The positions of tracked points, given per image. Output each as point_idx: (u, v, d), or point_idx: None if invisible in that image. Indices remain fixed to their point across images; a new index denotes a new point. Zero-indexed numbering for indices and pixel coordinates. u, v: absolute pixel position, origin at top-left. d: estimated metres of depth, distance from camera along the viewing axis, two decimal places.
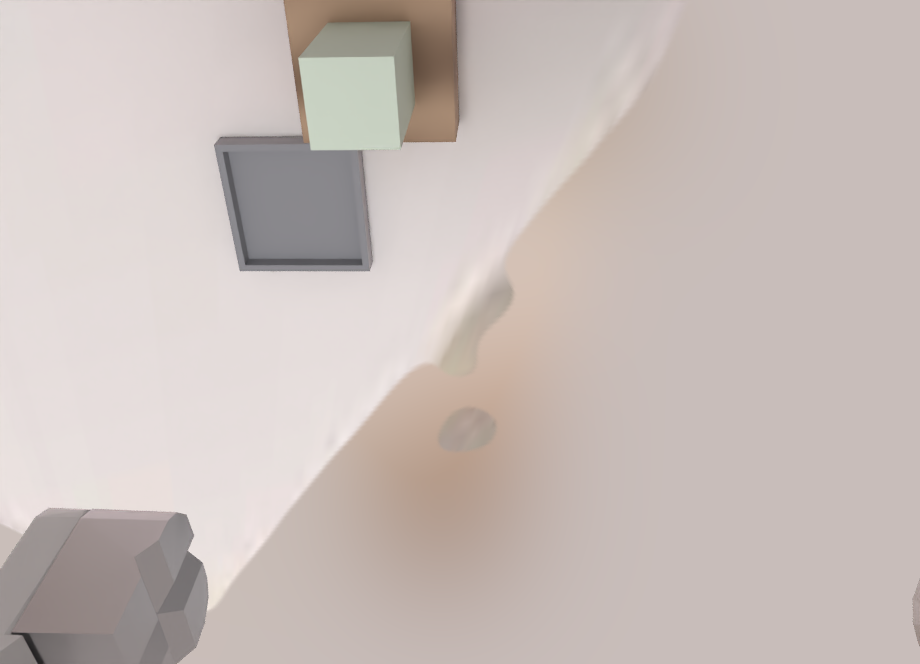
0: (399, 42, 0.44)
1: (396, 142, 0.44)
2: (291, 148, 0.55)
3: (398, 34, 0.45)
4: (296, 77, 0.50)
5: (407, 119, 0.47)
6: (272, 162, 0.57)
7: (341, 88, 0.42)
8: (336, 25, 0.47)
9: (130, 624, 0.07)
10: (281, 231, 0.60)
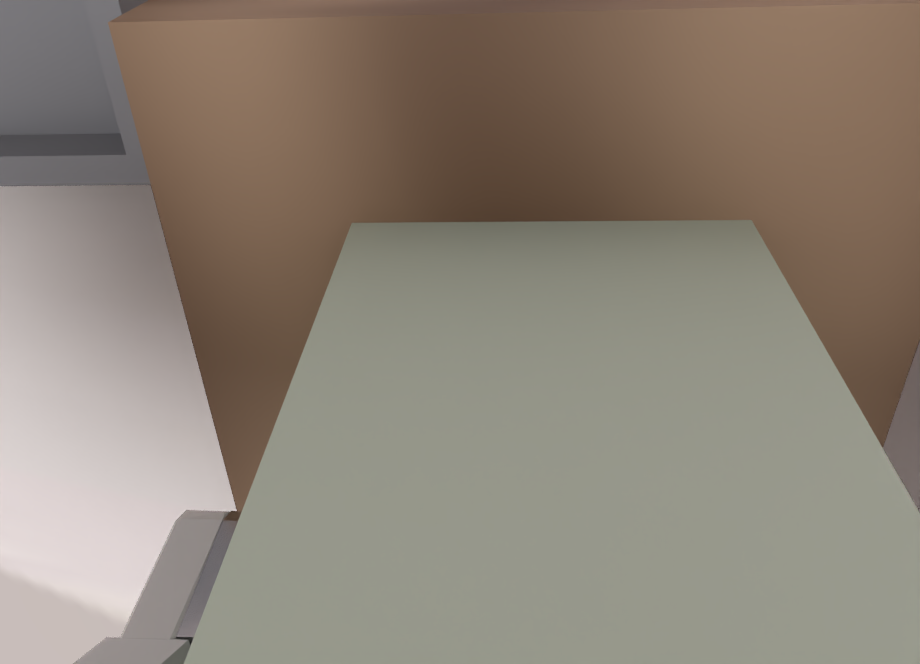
0: None
1: None
2: None
3: None
4: (485, 24, 0.09)
5: None
6: None
7: None
8: None
9: None
10: None
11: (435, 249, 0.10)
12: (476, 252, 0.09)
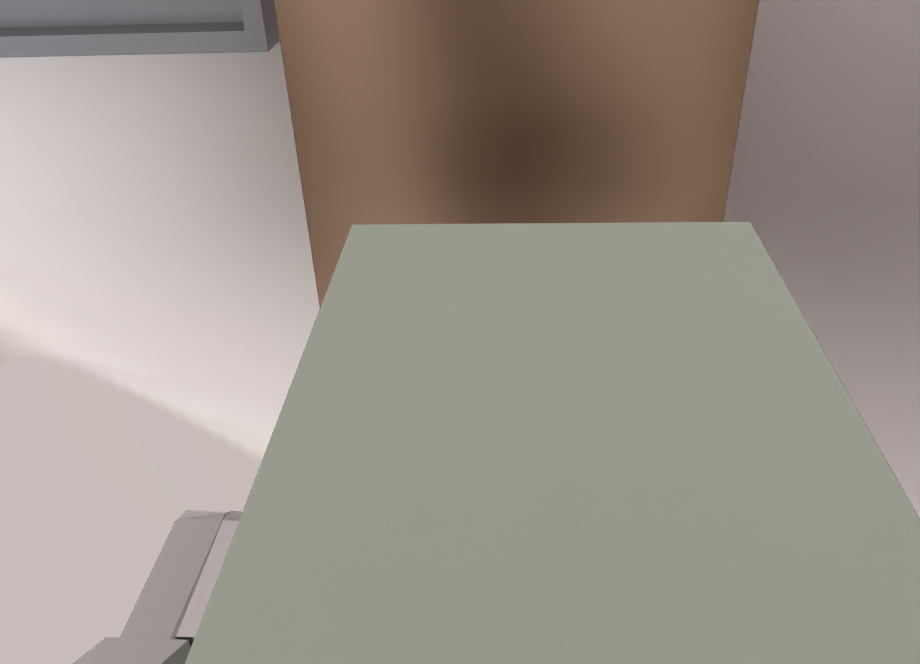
0: None
1: None
2: None
3: None
4: None
5: None
6: None
7: None
8: None
9: None
10: None
11: (435, 251, 0.10)
12: (477, 253, 0.09)
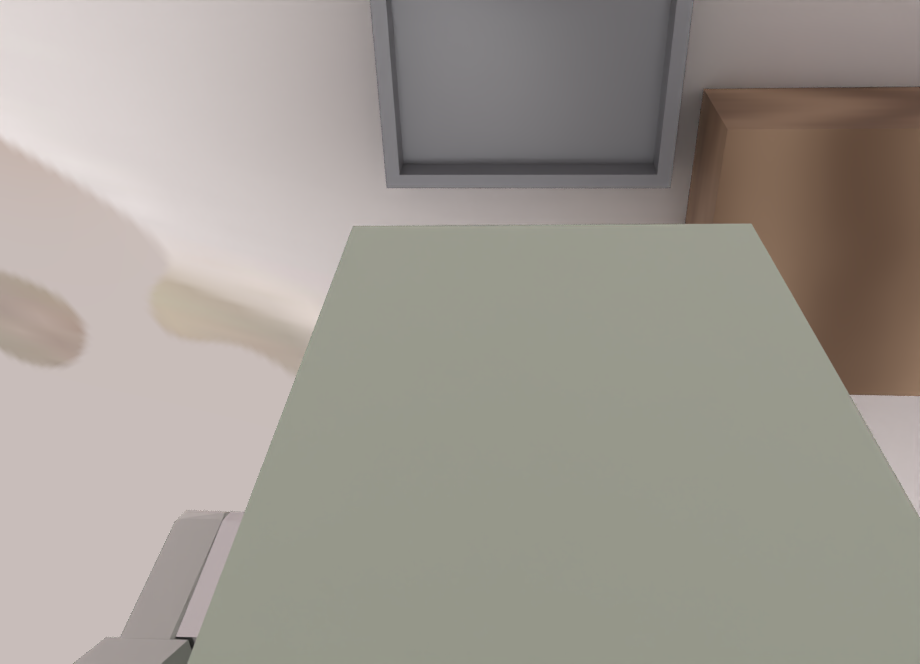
0: None
1: None
2: (677, 54, 0.25)
3: None
4: (872, 132, 0.24)
5: None
6: None
7: None
8: None
9: None
10: None
11: (436, 252, 0.10)
12: (477, 255, 0.09)
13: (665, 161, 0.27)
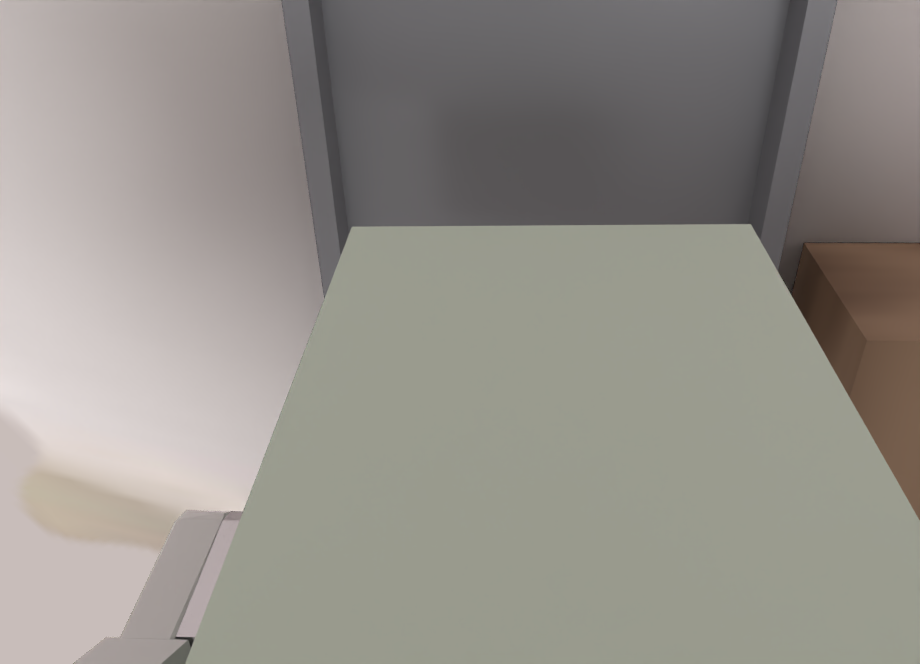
0: None
1: None
2: (777, 208, 0.16)
3: None
4: None
5: None
6: (710, 104, 0.16)
7: None
8: None
9: None
10: (443, 98, 0.17)
11: (435, 253, 0.10)
12: (476, 255, 0.09)
13: None
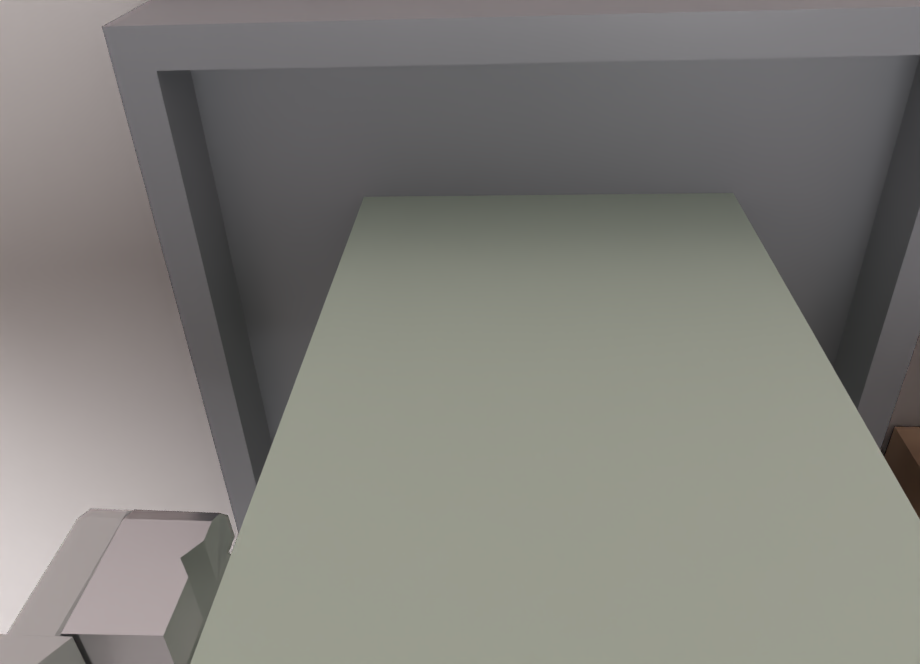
0: None
1: None
2: (872, 410, 0.11)
3: None
4: None
5: None
6: (774, 262, 0.11)
7: None
8: None
9: (179, 625, 0.07)
10: None
11: (442, 219, 0.10)
12: (480, 221, 0.10)
13: None
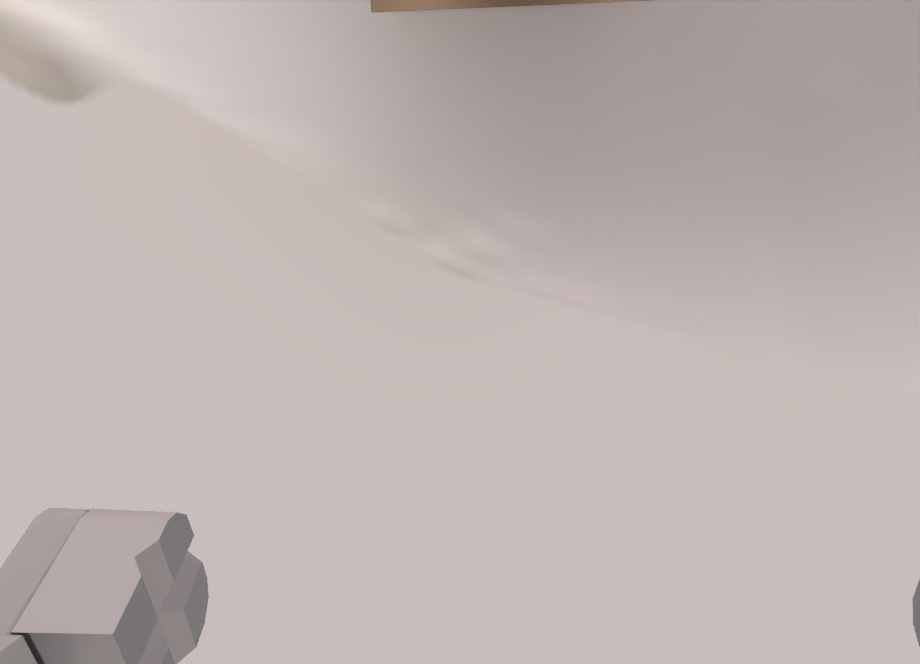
0: None
1: None
2: None
3: None
4: None
5: None
6: None
7: None
8: None
9: (130, 624, 0.07)
10: None
11: None
12: None
13: None
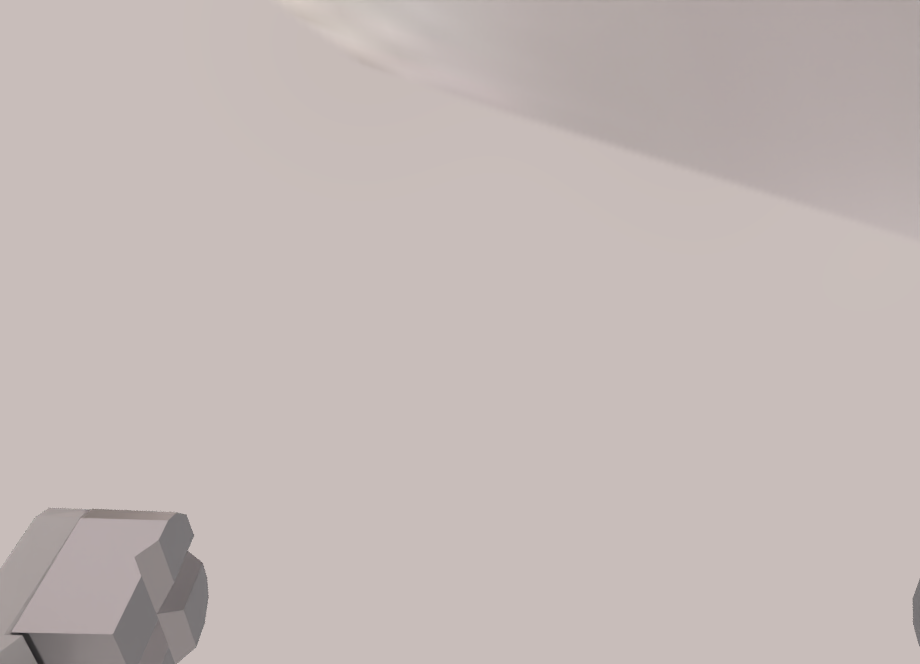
0: None
1: None
2: None
3: None
4: None
5: None
6: None
7: None
8: None
9: (130, 624, 0.07)
10: None
11: None
12: None
13: None
